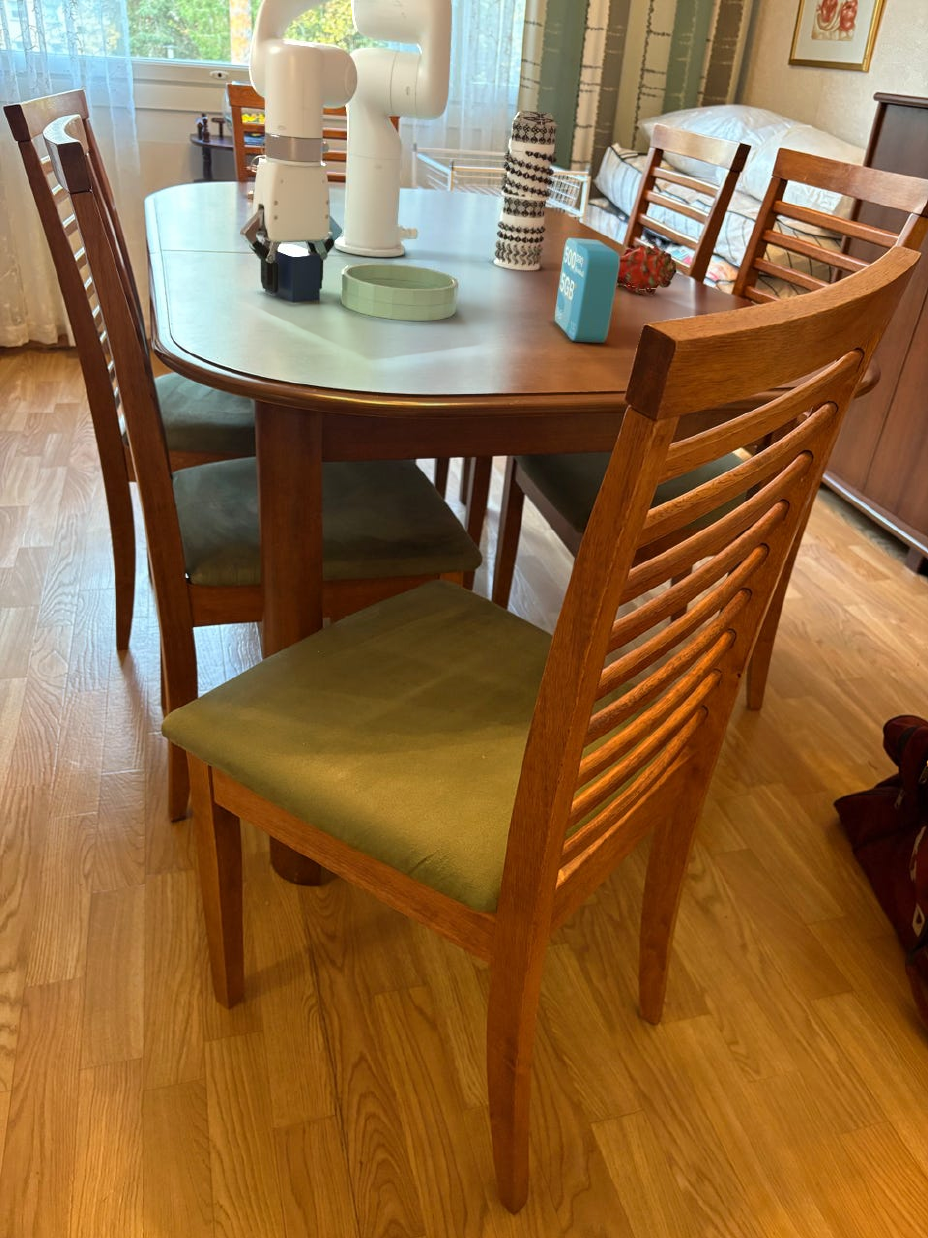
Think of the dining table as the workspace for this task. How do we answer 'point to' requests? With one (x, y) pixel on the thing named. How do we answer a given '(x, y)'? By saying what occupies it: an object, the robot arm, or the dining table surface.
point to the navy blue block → (297, 274)
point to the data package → (586, 290)
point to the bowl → (399, 292)
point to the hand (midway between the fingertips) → (292, 287)
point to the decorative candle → (525, 190)
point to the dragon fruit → (645, 269)
